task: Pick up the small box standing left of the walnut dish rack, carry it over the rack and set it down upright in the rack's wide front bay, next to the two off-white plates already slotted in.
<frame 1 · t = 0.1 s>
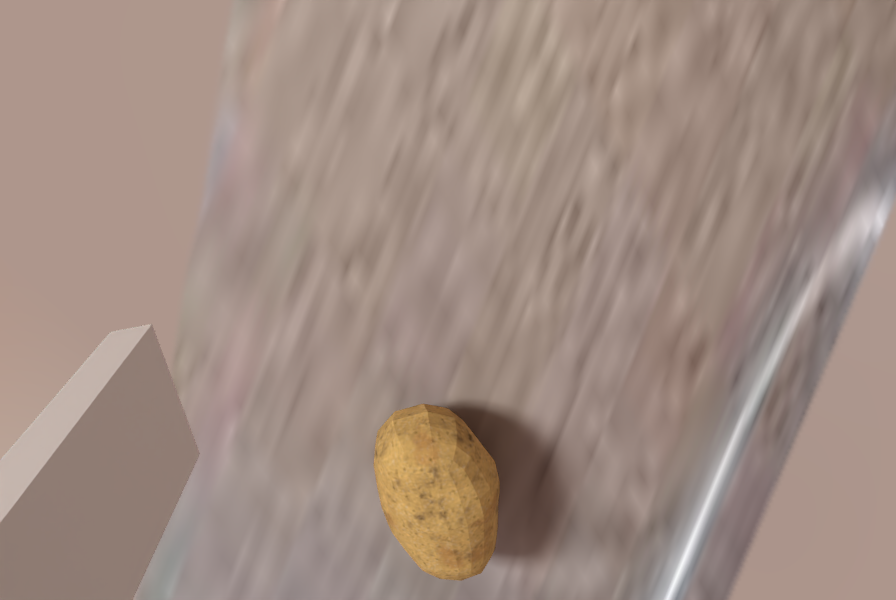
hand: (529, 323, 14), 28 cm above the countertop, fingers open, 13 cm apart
potato: (439, 459, 49), on the countertop
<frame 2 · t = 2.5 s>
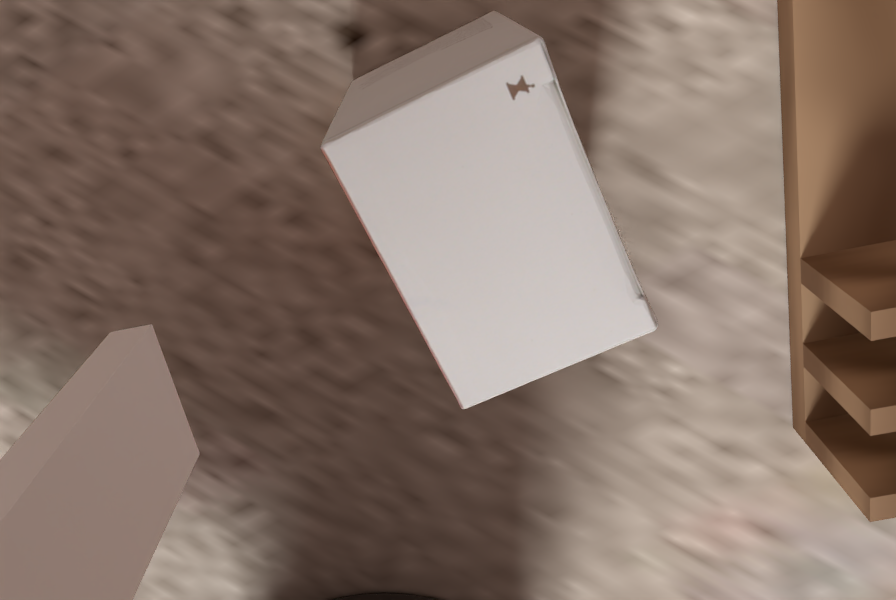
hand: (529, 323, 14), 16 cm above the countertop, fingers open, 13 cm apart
small box: (471, 148, 29), on the countertop
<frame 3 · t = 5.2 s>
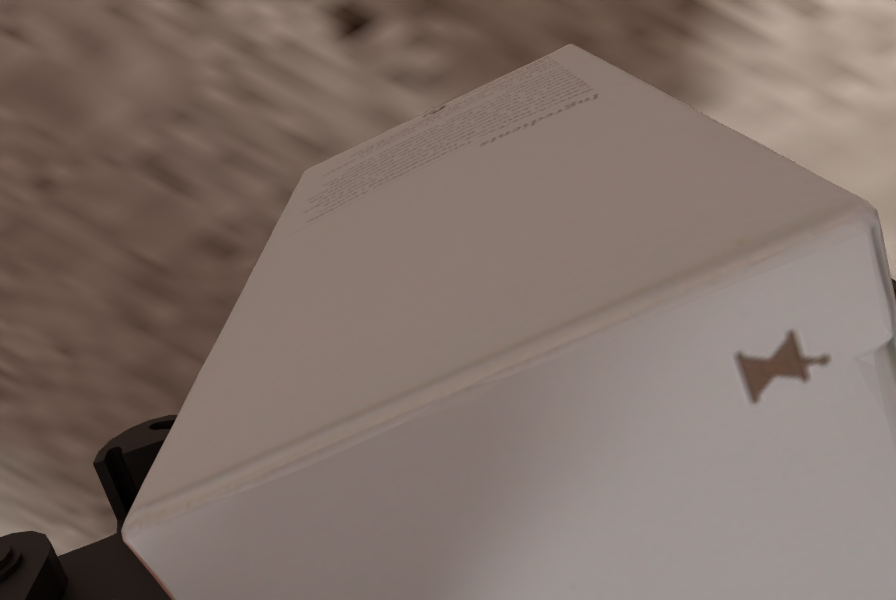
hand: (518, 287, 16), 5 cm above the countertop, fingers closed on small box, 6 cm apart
small box: (518, 282, 16), point 5 cm above the countertop, touching gripper
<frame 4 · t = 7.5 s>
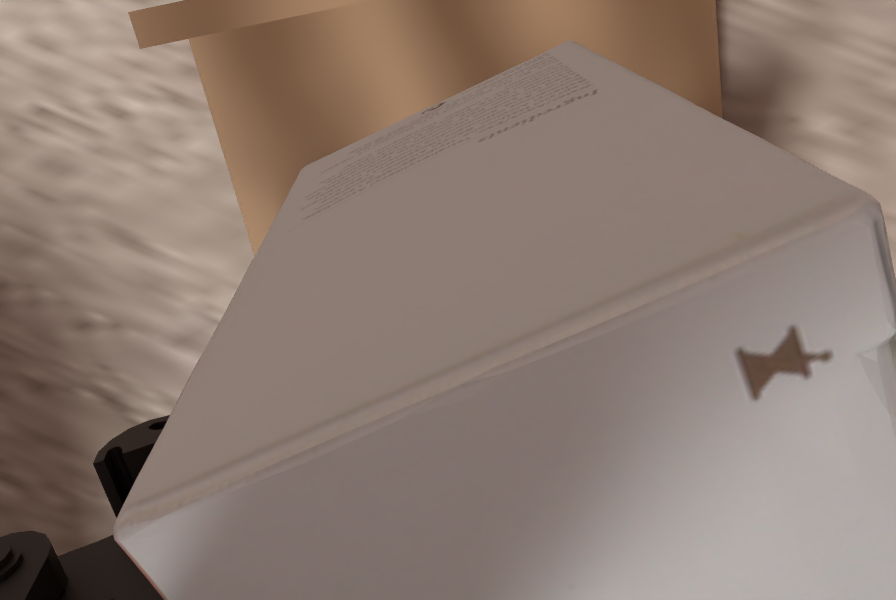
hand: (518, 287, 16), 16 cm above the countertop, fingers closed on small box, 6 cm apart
rack: (488, 221, 32), on the countertop
small box: (517, 280, 16), point 15 cm above the countertop, touching gripper
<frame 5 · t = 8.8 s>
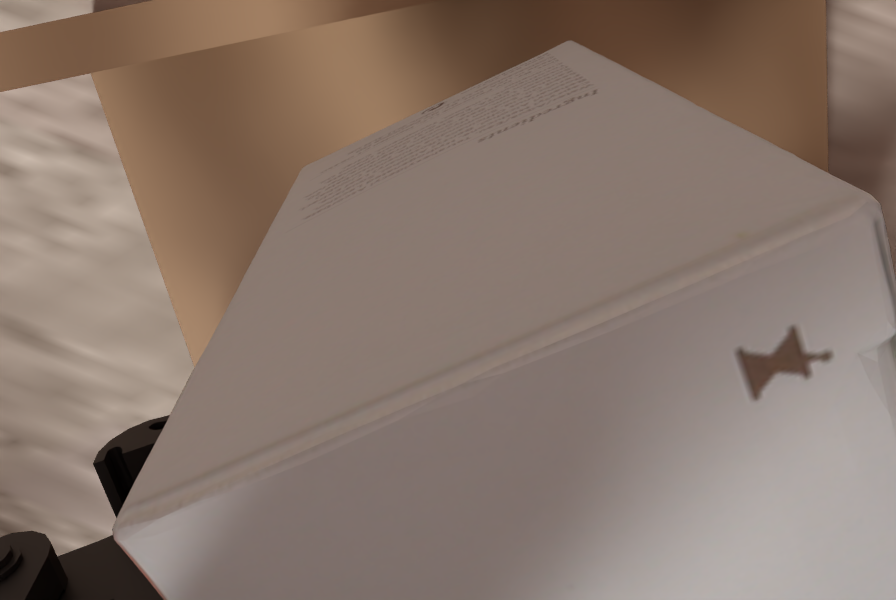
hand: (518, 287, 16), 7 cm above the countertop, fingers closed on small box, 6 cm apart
rack: (505, 309, 24), on the countertop
small box: (517, 280, 16), point 7 cm above the countertop, touching gripper
when the fingers open (3 cm above the countertop, at t = 10.0 s): small box drops 1 cm, resting on rack.
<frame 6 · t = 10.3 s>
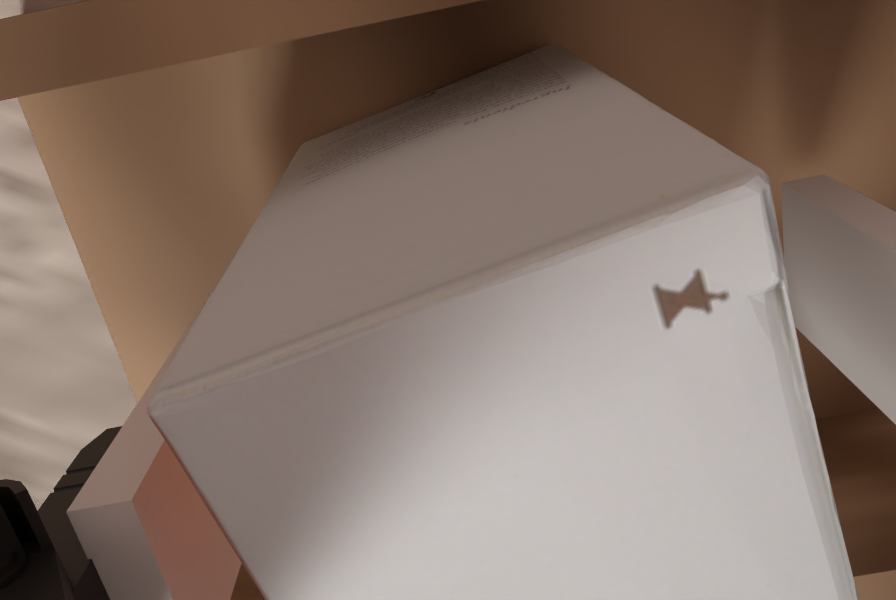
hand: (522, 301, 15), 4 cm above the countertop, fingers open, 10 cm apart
rack: (528, 372, 20), on the countertop
small box: (493, 261, 18), point 1 cm above the countertop, touching rack
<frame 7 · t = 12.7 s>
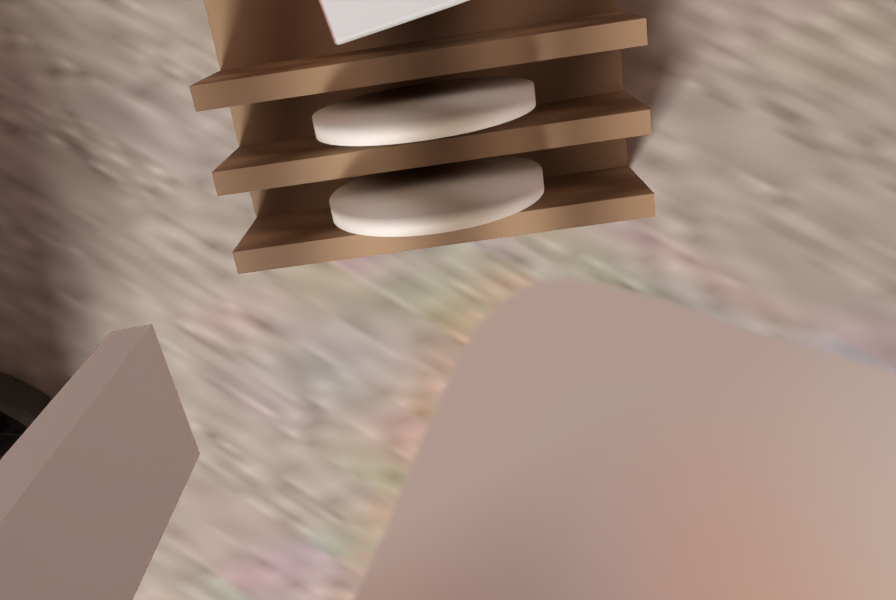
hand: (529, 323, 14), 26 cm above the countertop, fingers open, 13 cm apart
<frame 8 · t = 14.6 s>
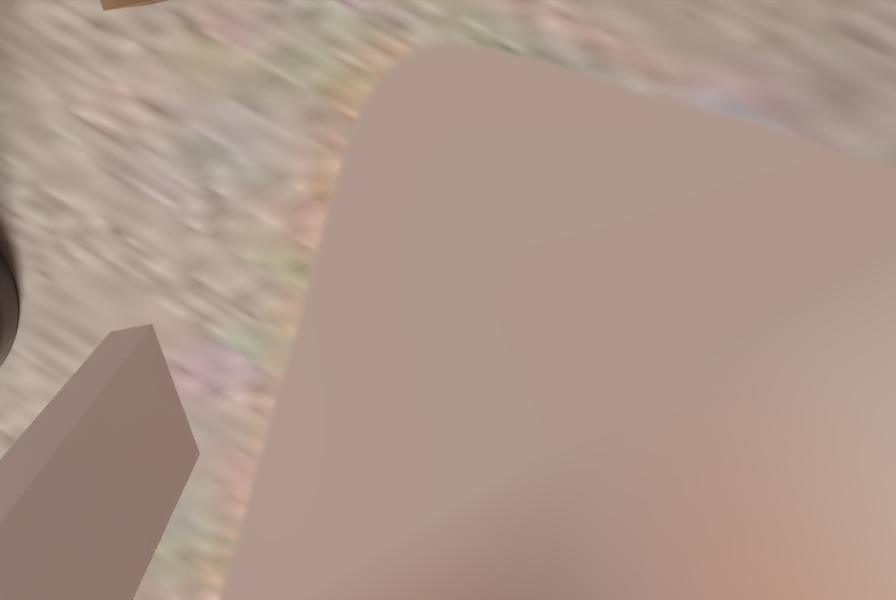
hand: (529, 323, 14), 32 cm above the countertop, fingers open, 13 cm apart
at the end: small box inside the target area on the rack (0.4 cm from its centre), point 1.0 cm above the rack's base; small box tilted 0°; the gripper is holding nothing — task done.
